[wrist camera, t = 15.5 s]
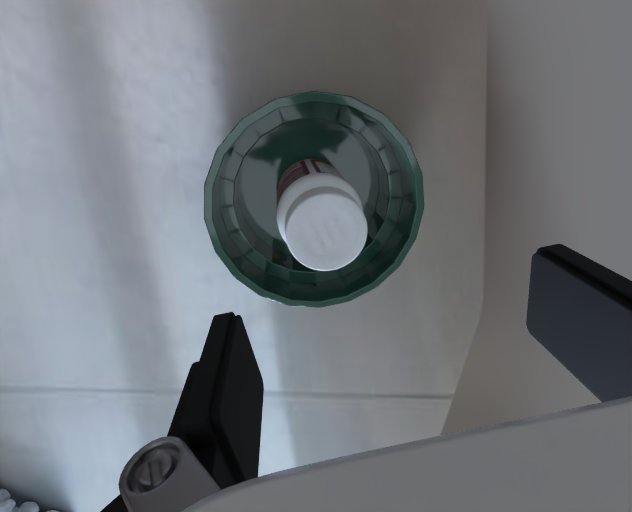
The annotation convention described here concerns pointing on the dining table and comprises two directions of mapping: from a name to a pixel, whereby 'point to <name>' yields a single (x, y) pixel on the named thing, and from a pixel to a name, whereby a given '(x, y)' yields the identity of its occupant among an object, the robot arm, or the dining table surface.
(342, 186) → the pill bottle
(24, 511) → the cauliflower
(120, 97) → the dining table surface
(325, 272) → the green faceted bowl
